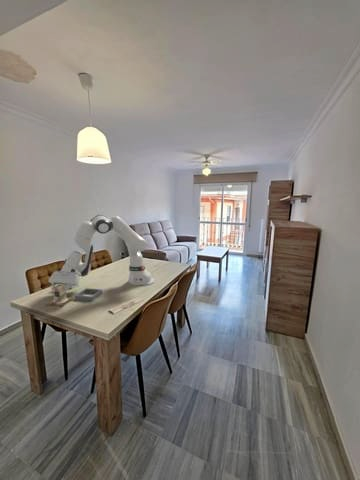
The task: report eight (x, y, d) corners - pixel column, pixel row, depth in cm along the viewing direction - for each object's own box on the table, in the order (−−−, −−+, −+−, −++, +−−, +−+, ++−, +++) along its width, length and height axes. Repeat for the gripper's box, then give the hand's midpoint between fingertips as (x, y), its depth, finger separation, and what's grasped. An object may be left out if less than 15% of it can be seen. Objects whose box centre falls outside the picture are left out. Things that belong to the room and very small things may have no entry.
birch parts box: (66, 298, 138) (65, 285, 136) (60, 302, 133) (59, 288, 131) (59, 298, 138) (58, 284, 137) (54, 301, 133) (52, 287, 132)
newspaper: (137, 298, 144) (136, 296, 144) (143, 301, 140) (143, 299, 140) (108, 312, 125) (108, 309, 125) (115, 316, 121) (115, 313, 121)
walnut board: (74, 298, 141) (74, 297, 141) (62, 306, 129) (62, 305, 129) (59, 296, 142) (58, 295, 142) (45, 304, 131) (45, 303, 131)
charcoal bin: (102, 293, 150) (102, 289, 149) (92, 301, 137) (92, 297, 137) (86, 291, 152) (86, 288, 151) (75, 299, 139) (74, 295, 139)
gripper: (52, 268, 141) (41, 287, 133) (78, 270, 138) (70, 289, 130) (57, 272, 146) (47, 290, 138) (83, 274, 143) (75, 293, 135)
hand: (58, 290), depth 134 cm, fingers open, 8 cm apart
